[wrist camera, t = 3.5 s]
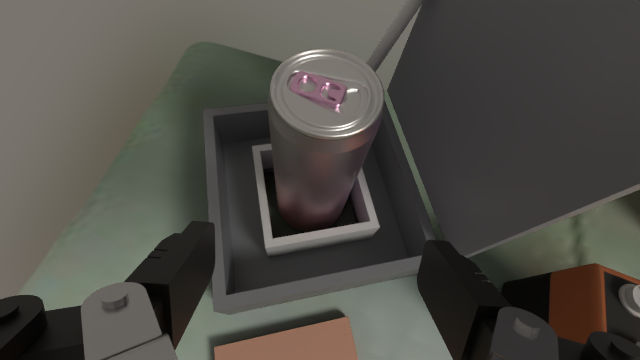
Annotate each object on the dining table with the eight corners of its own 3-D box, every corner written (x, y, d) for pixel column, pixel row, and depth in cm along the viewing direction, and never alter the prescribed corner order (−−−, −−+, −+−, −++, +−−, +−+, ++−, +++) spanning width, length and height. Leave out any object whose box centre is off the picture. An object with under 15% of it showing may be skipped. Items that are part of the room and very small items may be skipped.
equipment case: (383, 119, 33) (537, -224, 12) (438, 269, 26) (964, 60, 6) (215, 140, 30) (53, -267, 10) (228, 314, 23) (-230, 215, 3)
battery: (491, 365, 23) (615, 388, 15) (500, 280, 26) (607, 256, 17) (547, 389, 23) (709, 428, 14) (550, 300, 26) (685, 286, 17)
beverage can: (292, 166, 30) (293, 31, 16) (349, 186, 29) (400, 66, 16) (267, 220, 27) (244, 114, 14) (330, 244, 26) (371, 158, 13)
